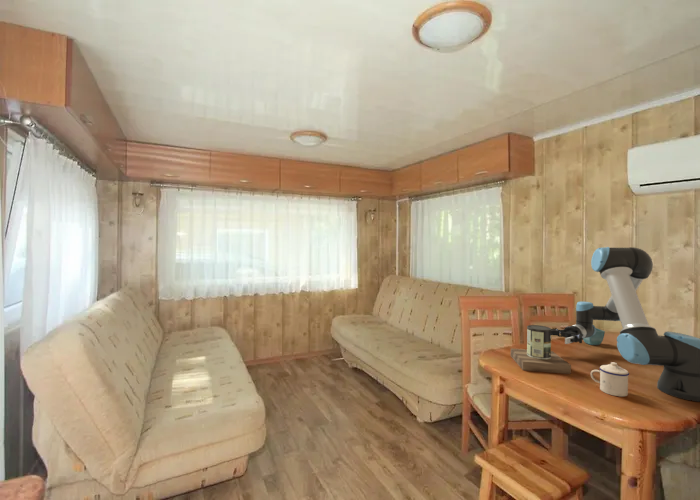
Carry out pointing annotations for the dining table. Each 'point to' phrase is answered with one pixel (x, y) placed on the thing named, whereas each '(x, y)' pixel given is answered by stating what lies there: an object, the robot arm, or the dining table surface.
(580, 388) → the dining table surface
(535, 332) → the coffee can
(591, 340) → the flower pot
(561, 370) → the walnut block
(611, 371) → the teacup with lid
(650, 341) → the robot arm
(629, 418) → the dining table surface
